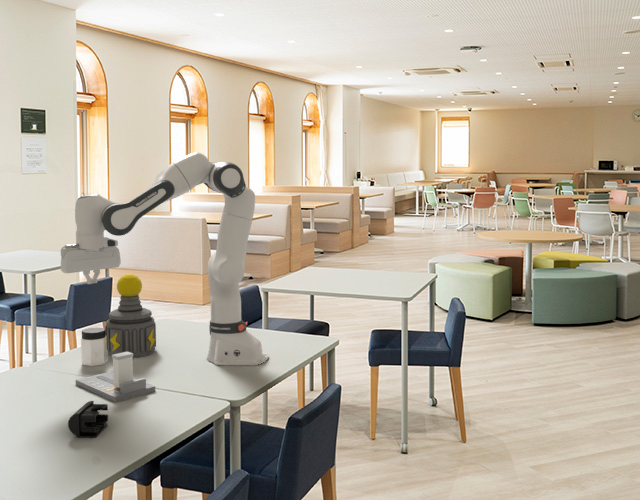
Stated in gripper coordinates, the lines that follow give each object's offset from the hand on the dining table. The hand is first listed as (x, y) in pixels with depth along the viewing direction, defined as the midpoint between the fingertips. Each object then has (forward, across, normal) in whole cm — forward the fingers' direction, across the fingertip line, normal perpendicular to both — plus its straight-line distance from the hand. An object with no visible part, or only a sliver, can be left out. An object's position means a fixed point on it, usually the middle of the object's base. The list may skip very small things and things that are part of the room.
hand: (92, 283), depth 228 cm
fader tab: (+29, -4, -25) cm, 38 cm away
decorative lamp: (+31, +22, +14) cm, 40 cm away
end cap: (+31, -28, -47) cm, 63 cm away
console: (+31, -4, -20) cm, 37 cm away
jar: (+31, +5, +10) cm, 33 cm away
